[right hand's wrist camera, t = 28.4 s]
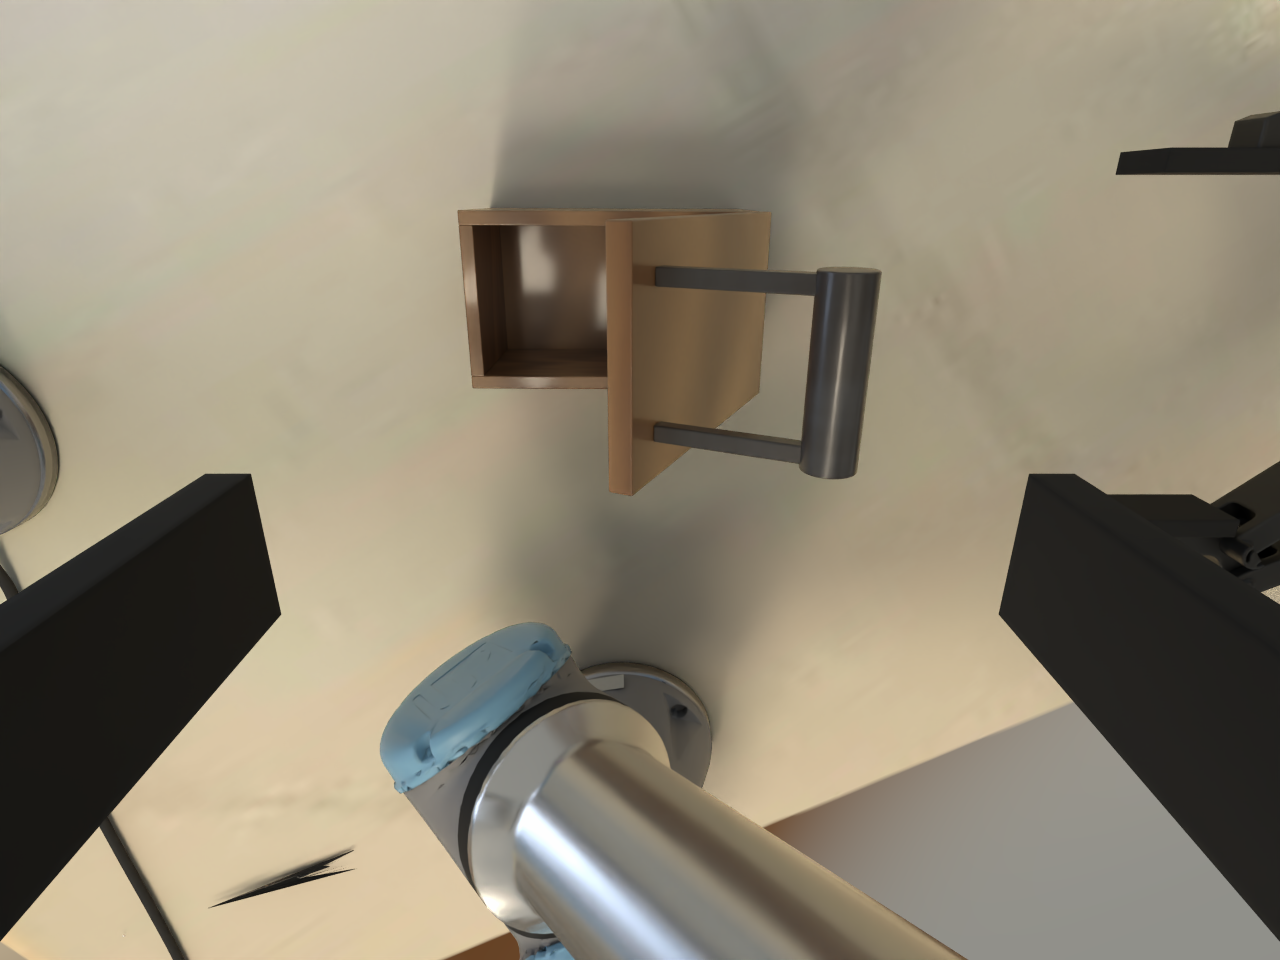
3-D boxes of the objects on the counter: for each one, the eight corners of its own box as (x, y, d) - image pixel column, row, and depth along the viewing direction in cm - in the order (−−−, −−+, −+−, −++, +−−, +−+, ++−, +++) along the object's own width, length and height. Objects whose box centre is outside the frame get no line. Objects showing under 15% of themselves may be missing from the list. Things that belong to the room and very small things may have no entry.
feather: (131, 920, 72) (112, 930, 70) (363, 845, 67) (349, 853, 65) (134, 938, 72) (116, 949, 70) (367, 864, 67) (354, 872, 65)
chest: (499, 357, 50) (472, 388, 42) (489, 208, 46) (457, 210, 38) (732, 358, 50) (749, 389, 42) (739, 209, 46) (760, 211, 38)
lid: (608, 492, 27) (840, 535, 24) (604, 219, 24) (877, 224, 20) (742, 391, 42) (899, 409, 38) (753, 211, 38) (927, 213, 35)
